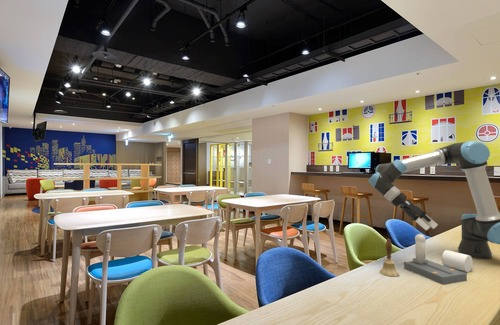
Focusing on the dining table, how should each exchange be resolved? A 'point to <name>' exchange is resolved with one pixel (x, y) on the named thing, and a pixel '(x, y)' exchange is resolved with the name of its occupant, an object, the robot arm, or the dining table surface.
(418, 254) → the lever
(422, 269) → the console
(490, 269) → the dining table surface
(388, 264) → the hand bell
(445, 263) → the mug
